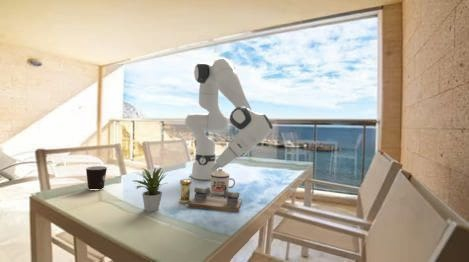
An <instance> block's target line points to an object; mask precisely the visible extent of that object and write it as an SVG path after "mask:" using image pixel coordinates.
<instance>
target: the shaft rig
mask: <svg viewBox="0 0 469 262" xmlns="http://www.w3.org/2000/svg"><path fill="white" fill-rule="evenodd" d="M193 192H194V197H193V198H192V199H191V201H190V202H189V203H187V205H188V206H187V208H195V209H205V210H211V211H212V210H214V211H215V210H216V211H224V212H234V213H238V212H239V210H240V208H241V206H242V202H243V199H242V198H240V192H236V191H228V192H227V190H225V191H224V195H223V197H222V196H213V195H210V193H211V187H209V186H208V187H206V188H204V187H194V191H193Z"/></svg>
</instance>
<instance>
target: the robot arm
mask: <svg viewBox="0 0 469 262" xmlns="http://www.w3.org/2000/svg"><path fill="white" fill-rule="evenodd" d="M193 74H194V78H195V81H196V82H197V83H199V88H198V89H199V90H198V104H199V106H200V107H201V108H203V109H204V110H206V111H207V112H208V113H205V112H204V113H203V112H202V113H201V112H193V113H189V114H187V116H186V117H185V121H184V123H185V127H186V128H187V130H188V131H189V132H191V133H192V134H193V136H194V138H195V144H196V152H195V161H194V162H193V163H192V168H191V171H192V172H191V173H190V174H189V177H191V178H193V179H196V180H203V181H205V180H209V181H211V174H212V173H214V172H216V171H218V169H223V168H224V167H226V166H227V165H229V164H230V163H231V162H233V161H234V160H236V159H238V158H245V157H246V156H247V155H248V154H249V153H250V152H251V151H253V150H254V148H255V146H257V145H258V144H260V143H261V142H263V141H264V140H265V139H266V137H268V136H269V135H270V134H271V132H272V130H273V124H272V122H271V120H270V119H269V118H268V116H267V115H266V114H265V113H260V112H255V111H253V110H252V107H251V106H250V103H249V102H248V100H247V97H246V95H245V93H244V90H243V87H242V84H241V82H240V79H239V76H238V73H237V72H236V67H235V66H234V65H233V64H232V63H231V62H230V61H229V60H228V59H227V58H224V57H219V58H217V59H215V60H214V61H213V62H200V63H197V64H196V65H195V66H194V71H193ZM219 93H221V94H222V95H223V96H224V97H225V98H226V99H227V100H228V101H229V102H230V103H231V104H232V105H233V106H234V107H235V108H234V109H233V110H232V111H231V113H230V114H229V119H228V118H227V116H226V115H225V114H223V113H222V111H221V110H220V107H219ZM229 122H230V123H231V124H230V125H232V126H233V128H235V130H237V131H238V133H236V135H234V136H233V137H232V138H230V140H229V143H228V144H227V147H226V148H225V149H224V150H223V151H222V153H221V154H220V155H219V156H218V157H217V158H216V154H215V153H216V151H215V150H216V142H215V140H214V139H212V138H211V137H209V136H208V135H206V132H209V133H210V132H212V133H221V132H225V131H226V130H227V129H228V126H229Z"/></svg>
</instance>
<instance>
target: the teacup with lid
mask: <svg viewBox="0 0 469 262" xmlns="http://www.w3.org/2000/svg"><path fill="white" fill-rule="evenodd" d="M217 170H218V171H216V172H214V173H212V174H211V180H210V193H211V194H213V195H216V196H224V191H225V190H227V192H229V189H233V188H234V187H235V185H236V180H235V179H234V178H232V177H230V173H228V172H226V171H224V170H223V168H218V169H217ZM230 180H231V181H233V185H231V186H230V185H229V182H230Z"/></svg>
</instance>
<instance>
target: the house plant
mask: <svg viewBox="0 0 469 262" xmlns="http://www.w3.org/2000/svg"><path fill="white" fill-rule="evenodd" d="M141 169H142V170H143V171H144V172H145V174H146V176H145V175H143V174H141V173H138V172H137V175H139V176H141V177H142V180H143V181H142V180H136V179H135V180H133V182H135V183H134V184H139V185H136V186H135V187H134V188H135V190H137V189H140V188H145V189H144V190H145V191H143V192H142V200H143V207H144V211H145V212H152V213H153V212H157V211H159V209H160V204H161V201H162V195H163V191H161V190H160V188H161V186H163V185H165V184H166V185H167V182H165V183H162V184H161V181H162V180H163V179H164V178H165V176H167V175H168V173H166V174H165V171H164V169H163V167H159V168H158V169H157V167H155V168H154V170H153V172H152V175H151V173H150V171H148V170H147V169H146V168H141ZM156 169H157V170H156ZM161 170H162V171H161ZM163 171H164V172H163ZM133 173H135V174H136V172H134V171H133ZM164 174H165V175H164Z"/></svg>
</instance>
